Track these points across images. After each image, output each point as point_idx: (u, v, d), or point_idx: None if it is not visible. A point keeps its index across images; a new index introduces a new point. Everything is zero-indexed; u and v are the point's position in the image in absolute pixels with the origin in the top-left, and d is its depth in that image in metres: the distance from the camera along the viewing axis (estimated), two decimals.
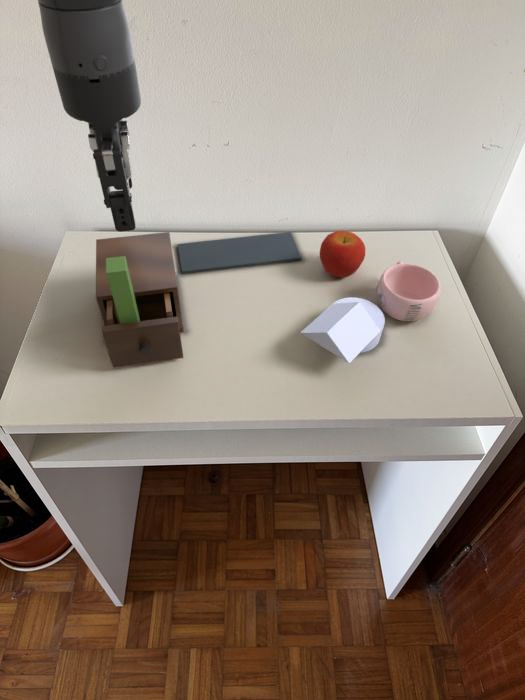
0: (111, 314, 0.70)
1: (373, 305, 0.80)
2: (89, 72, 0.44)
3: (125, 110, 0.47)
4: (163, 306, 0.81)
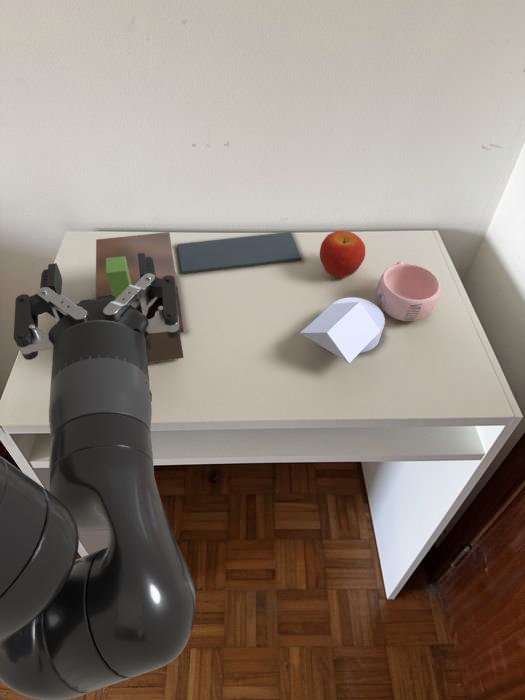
0: None
1: (373, 305, 0.80)
2: None
3: None
4: None
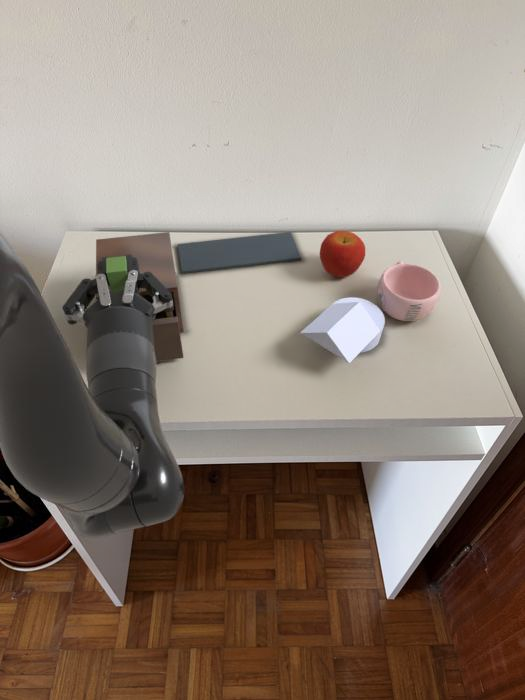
0: None
1: (373, 305, 0.80)
2: None
3: None
4: None
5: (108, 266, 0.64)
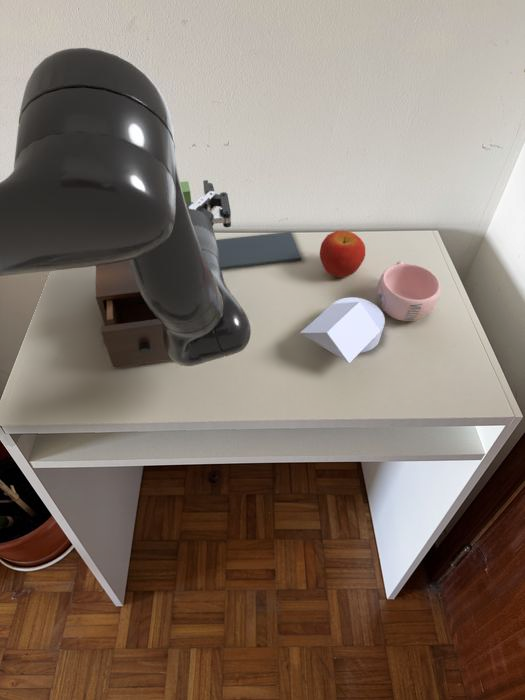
0: (111, 314, 0.70)
1: (373, 305, 0.80)
2: None
3: None
4: None
5: None
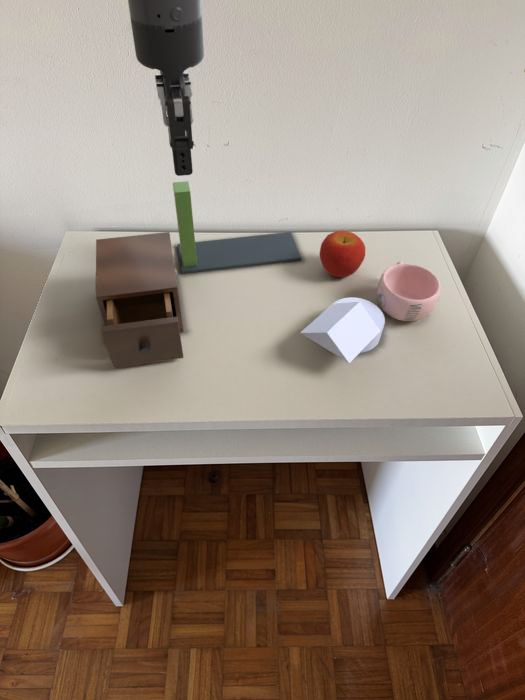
0: (111, 314, 0.70)
1: (373, 305, 0.80)
2: (166, 22, 0.50)
3: (192, 59, 0.54)
4: (163, 306, 0.81)
5: (175, 188, 0.79)
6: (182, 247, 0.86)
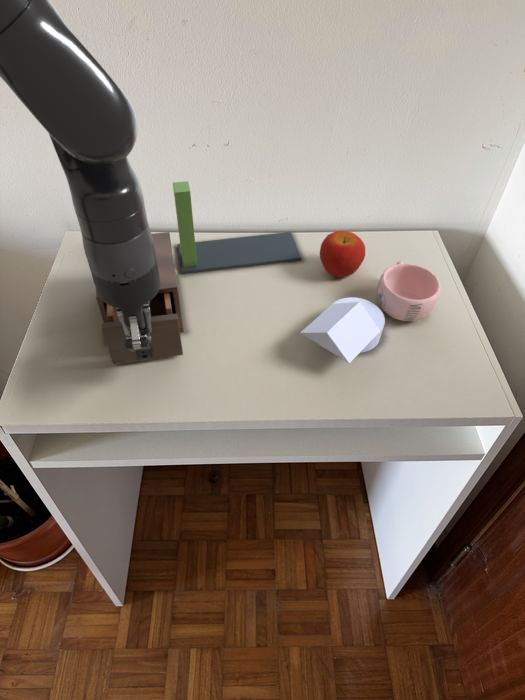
0: (111, 311, 0.70)
1: (373, 305, 0.80)
2: (120, 279, 0.54)
3: (148, 297, 0.58)
4: (163, 303, 0.81)
5: (175, 188, 0.79)
6: (182, 247, 0.86)
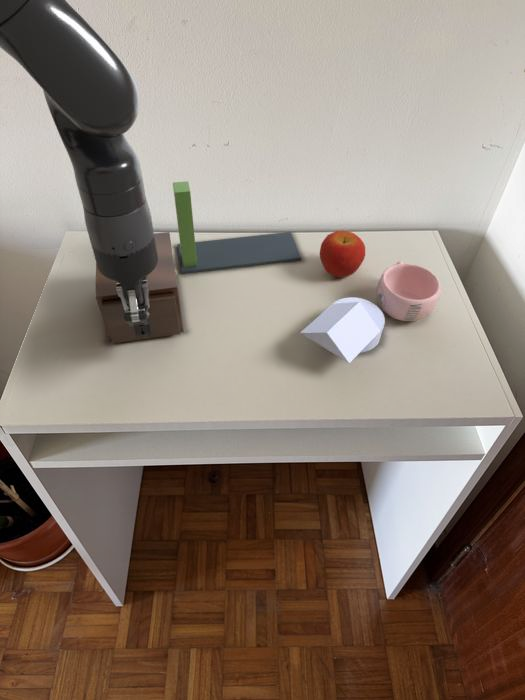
0: None
1: (373, 305, 0.80)
2: (120, 252, 0.57)
3: (146, 271, 0.61)
4: None
5: (175, 188, 0.79)
6: (182, 247, 0.86)
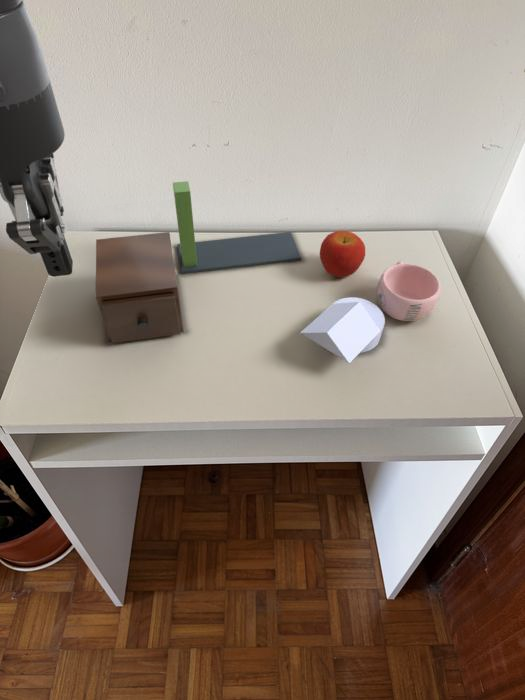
0: None
1: (373, 305, 0.80)
2: None
3: (38, 150, 0.36)
4: None
5: (175, 188, 0.79)
6: (182, 247, 0.86)
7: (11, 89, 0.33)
